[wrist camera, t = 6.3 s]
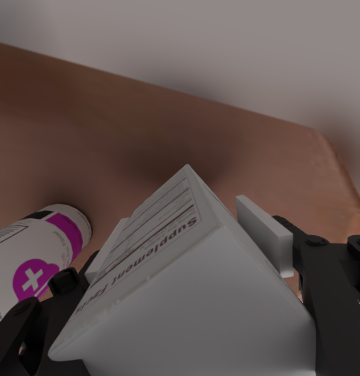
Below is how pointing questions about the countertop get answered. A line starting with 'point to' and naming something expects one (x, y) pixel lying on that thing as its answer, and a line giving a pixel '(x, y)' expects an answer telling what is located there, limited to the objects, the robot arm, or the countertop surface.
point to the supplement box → (188, 298)
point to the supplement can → (38, 251)
